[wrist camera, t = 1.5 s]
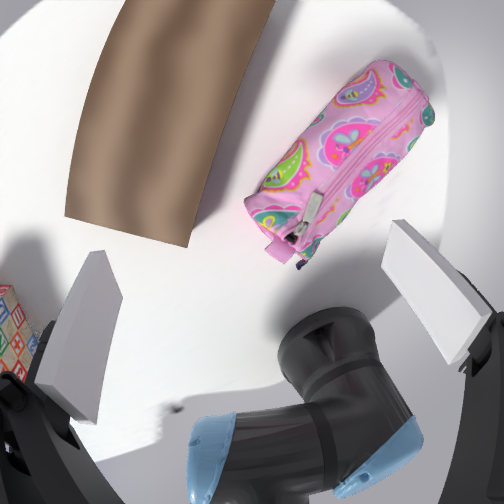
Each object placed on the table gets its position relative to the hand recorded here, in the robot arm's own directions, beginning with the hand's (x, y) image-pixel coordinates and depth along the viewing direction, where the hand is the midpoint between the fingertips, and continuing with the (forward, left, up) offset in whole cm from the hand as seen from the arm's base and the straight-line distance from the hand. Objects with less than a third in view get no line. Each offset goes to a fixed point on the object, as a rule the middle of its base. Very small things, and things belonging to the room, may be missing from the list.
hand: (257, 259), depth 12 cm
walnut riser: (+9, -6, -18) cm, 21 cm away
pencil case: (-9, -6, -18) cm, 21 cm away
